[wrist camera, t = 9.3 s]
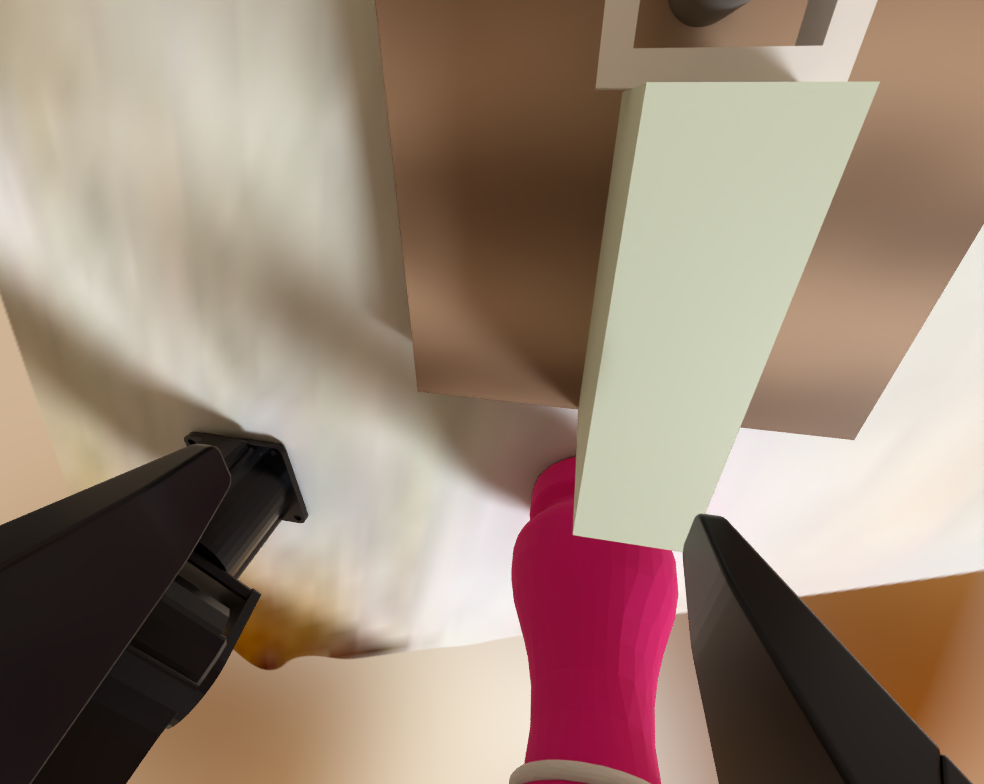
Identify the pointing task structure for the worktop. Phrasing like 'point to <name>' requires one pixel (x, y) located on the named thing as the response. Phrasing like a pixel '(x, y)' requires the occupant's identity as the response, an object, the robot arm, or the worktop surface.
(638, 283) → the light grey piece
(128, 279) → the worktop surface
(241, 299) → the worktop surface
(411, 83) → the brown open rectangular box
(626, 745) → the pepper mill
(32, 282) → the worktop surface
